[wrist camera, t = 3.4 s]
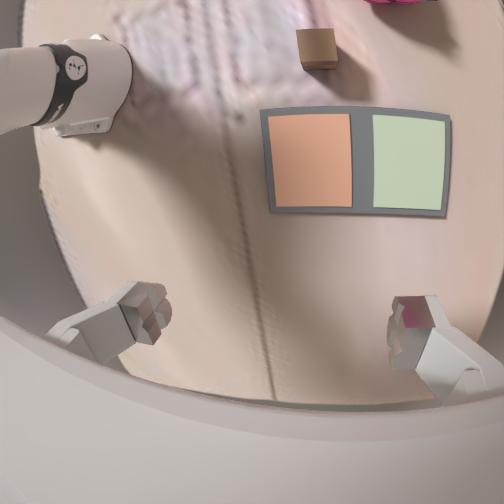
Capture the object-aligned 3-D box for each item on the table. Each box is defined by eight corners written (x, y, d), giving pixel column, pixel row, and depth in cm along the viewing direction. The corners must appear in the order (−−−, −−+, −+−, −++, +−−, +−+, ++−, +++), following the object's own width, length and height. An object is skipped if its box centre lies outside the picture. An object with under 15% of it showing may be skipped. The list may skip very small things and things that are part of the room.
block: (304, 70, 29) (300, 61, 24) (300, 42, 27) (295, 29, 22) (335, 69, 28) (338, 60, 23) (331, 41, 26) (333, 28, 21)
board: (271, 210, 39) (269, 213, 38) (261, 110, 33) (259, 110, 32) (442, 213, 33) (445, 217, 31) (447, 115, 26) (450, 115, 25)
